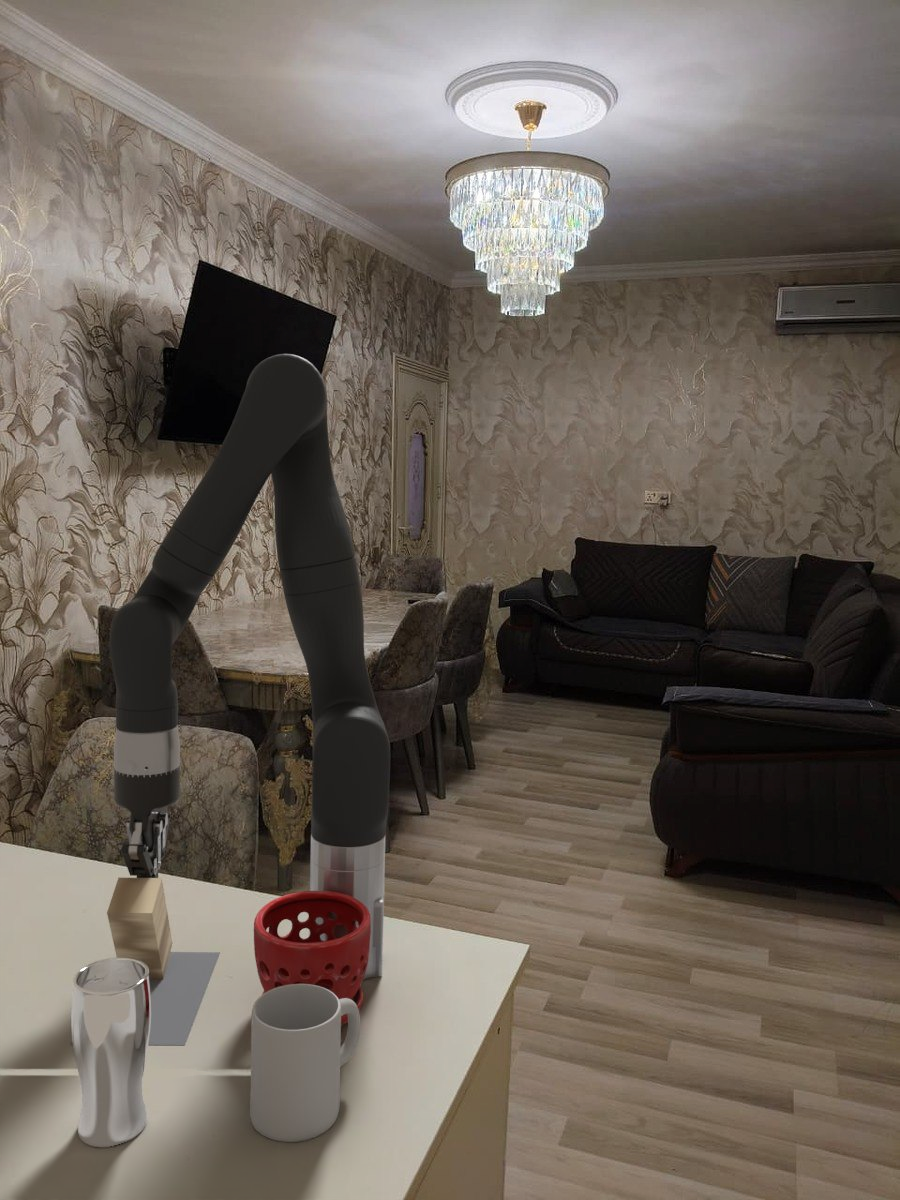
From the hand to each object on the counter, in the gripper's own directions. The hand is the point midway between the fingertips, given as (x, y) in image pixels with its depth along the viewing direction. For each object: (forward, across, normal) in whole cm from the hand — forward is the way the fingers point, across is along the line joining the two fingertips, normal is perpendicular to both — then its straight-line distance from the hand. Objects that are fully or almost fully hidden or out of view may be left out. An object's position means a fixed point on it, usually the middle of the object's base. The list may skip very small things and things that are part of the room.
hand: (147, 901), depth 115 cm
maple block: (+7, 0, 0) cm, 7 cm away
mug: (+9, -25, -22) cm, 35 cm away
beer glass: (+9, -28, -4) cm, 30 cm away
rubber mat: (+9, -6, -2) cm, 11 cm away
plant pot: (+9, -9, -21) cm, 25 cm away
